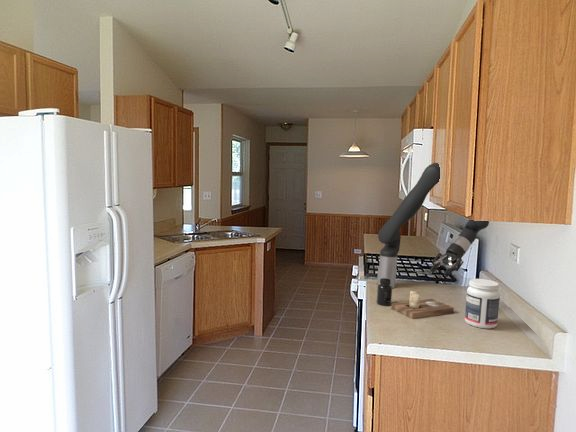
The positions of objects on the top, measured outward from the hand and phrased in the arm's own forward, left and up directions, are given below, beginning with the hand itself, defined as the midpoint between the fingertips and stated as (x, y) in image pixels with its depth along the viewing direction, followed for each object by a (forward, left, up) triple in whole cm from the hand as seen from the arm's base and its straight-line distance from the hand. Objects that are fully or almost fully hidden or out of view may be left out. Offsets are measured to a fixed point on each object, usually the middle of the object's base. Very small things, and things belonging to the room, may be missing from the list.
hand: (438, 273), depth 199 cm
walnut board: (0, -8, -17) cm, 19 cm away
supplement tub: (+22, +4, -17) cm, 28 cm away
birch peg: (0, -13, -17) cm, 21 cm away
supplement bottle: (-14, -19, -17) cm, 29 cm away
